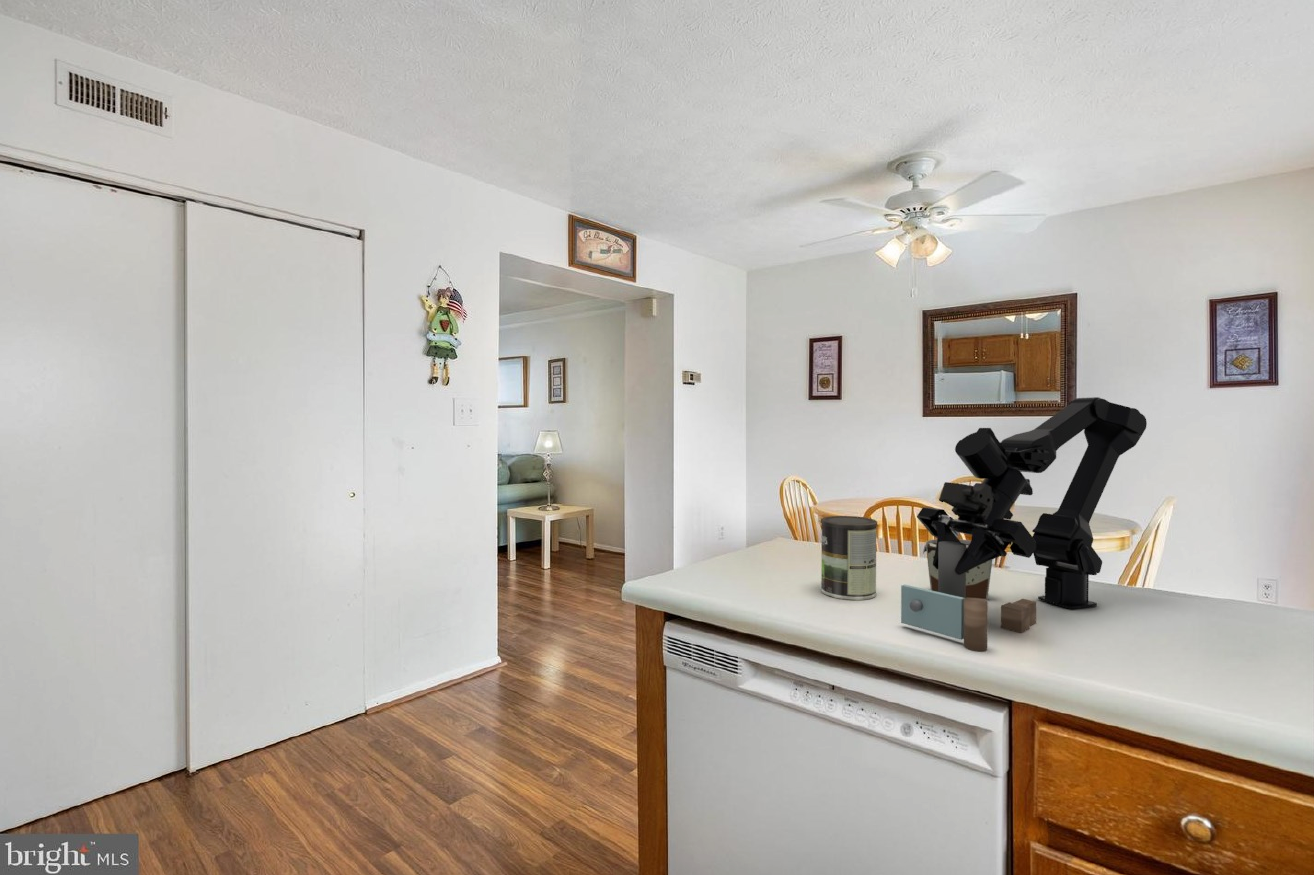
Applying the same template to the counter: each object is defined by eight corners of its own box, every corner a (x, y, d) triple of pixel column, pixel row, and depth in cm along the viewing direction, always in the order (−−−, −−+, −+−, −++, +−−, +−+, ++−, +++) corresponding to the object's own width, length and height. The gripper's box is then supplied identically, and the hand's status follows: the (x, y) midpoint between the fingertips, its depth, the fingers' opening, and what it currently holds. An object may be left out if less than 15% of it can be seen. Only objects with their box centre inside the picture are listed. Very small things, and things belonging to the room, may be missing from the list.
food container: (989, 592, 115) (990, 540, 114) (996, 601, 109) (996, 546, 109) (919, 586, 119) (920, 536, 118) (922, 595, 113) (923, 542, 113)
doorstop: (972, 619, 99) (972, 541, 98) (975, 632, 93) (976, 549, 92) (929, 614, 101) (929, 538, 101) (930, 627, 95) (930, 546, 95)
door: (964, 638, 88) (964, 597, 88) (957, 641, 87) (958, 600, 87) (904, 621, 96) (904, 584, 96) (897, 624, 95) (897, 586, 94)
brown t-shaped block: (981, 652, 84) (981, 605, 84) (959, 646, 87) (960, 600, 87) (1039, 623, 96) (1039, 581, 96) (1019, 619, 99) (1019, 578, 99)
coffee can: (818, 597, 112) (818, 522, 111) (822, 583, 121) (822, 514, 121) (877, 602, 108) (877, 525, 108) (876, 588, 118) (877, 517, 118)
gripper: (924, 461, 106) (876, 528, 103) (1023, 468, 89) (969, 549, 85) (957, 502, 109) (911, 568, 106) (1058, 517, 92) (1008, 597, 88)
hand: (945, 569), depth 96 cm, fingers closed on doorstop, 4 cm apart
